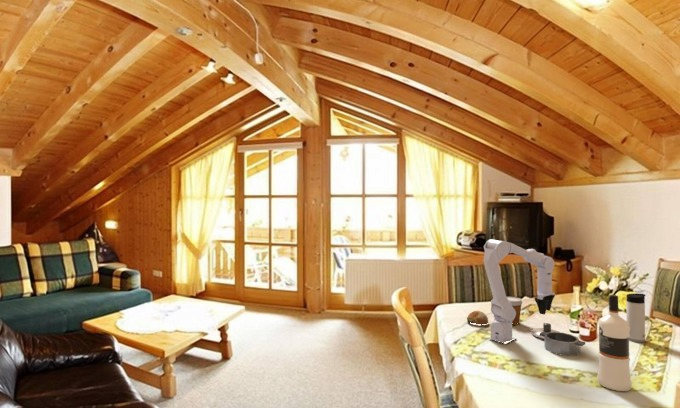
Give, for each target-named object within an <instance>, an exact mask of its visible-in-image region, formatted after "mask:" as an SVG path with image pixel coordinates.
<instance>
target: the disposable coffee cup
mask: <svg viewBox="0 0 680 408" xmlns="http://www.w3.org/2000/svg"><path fill="white" fill-rule="evenodd" d="M506 297H507V299H508V300H509V301H510V302H511V304H512V307H513V308H514V309H515V311H516V316H515V318H514V320H513V321H512V323H513V324H517V323H519V324H520V319H521V311H522V310H521V309H522V304H523V301H522V298H520V297H515V296H506Z"/></svg>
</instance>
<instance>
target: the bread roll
mask: <svg viewBox="0 0 680 408" xmlns="http://www.w3.org/2000/svg"><path fill="white" fill-rule="evenodd" d="M466 321H467V323H468V324H469V323H470V322H471V323H476V324H481V325H482V324H487V323H489V318H488V316H487V315H486V313H485V312H484V311H481V310H473V311H471V312H470V313H469V314H468V315H467V316H466Z"/></svg>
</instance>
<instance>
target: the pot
mask: <svg viewBox="0 0 680 408" xmlns="http://www.w3.org/2000/svg"><path fill="white" fill-rule="evenodd" d="M539 336H543V337H544V339H543V340H544V348H545V350H547V351H548V350H549V351H548V352H550V351H551V352H550V353H553V354H556V353H557V354H556V355H560V354H561V356H571V357H572V356H577V355H579V354H580V353H581V352H580V351H581V349H580V347H584V346H585V345H586V342H585V341H583V340H580V339H579V337H577V336H576V335H573V334H569V333H565V332H560V331H559V332H548V333H547V332H541V333H539Z"/></svg>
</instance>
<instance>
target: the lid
mask: <svg viewBox="0 0 680 408" xmlns="http://www.w3.org/2000/svg"><path fill="white" fill-rule="evenodd" d="M542 327H543V328H541V327H539V328H533V329H531V334H532V335H533V336H534V337H537V338H539V339H542V340H544V337H543V336H539V333H541V332H547V333H548V332H560V331H558V330H555V329H552V324H551V323H548V322H543V326H542Z"/></svg>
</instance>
